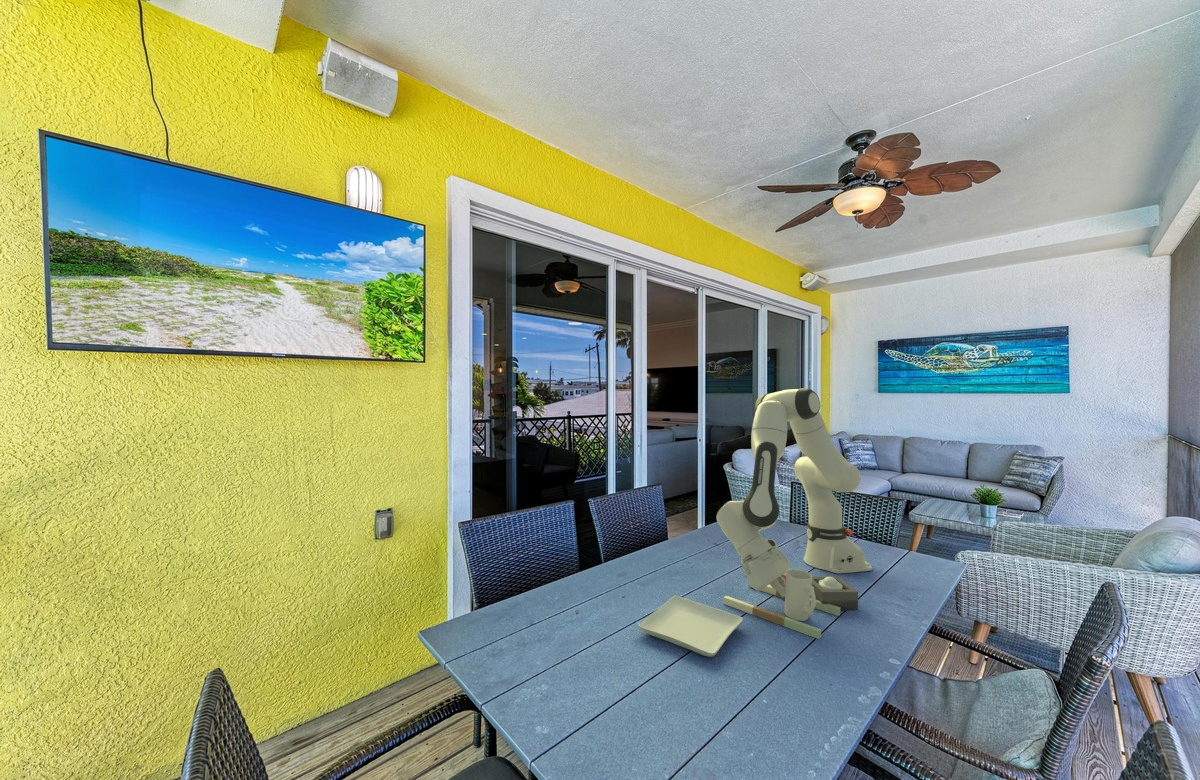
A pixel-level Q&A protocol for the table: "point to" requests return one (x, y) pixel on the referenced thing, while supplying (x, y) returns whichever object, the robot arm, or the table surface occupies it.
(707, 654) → the salad plate
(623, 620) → the table surface
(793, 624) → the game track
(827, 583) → the pop dome
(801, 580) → the mug
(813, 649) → the table surface
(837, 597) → the dome housing
